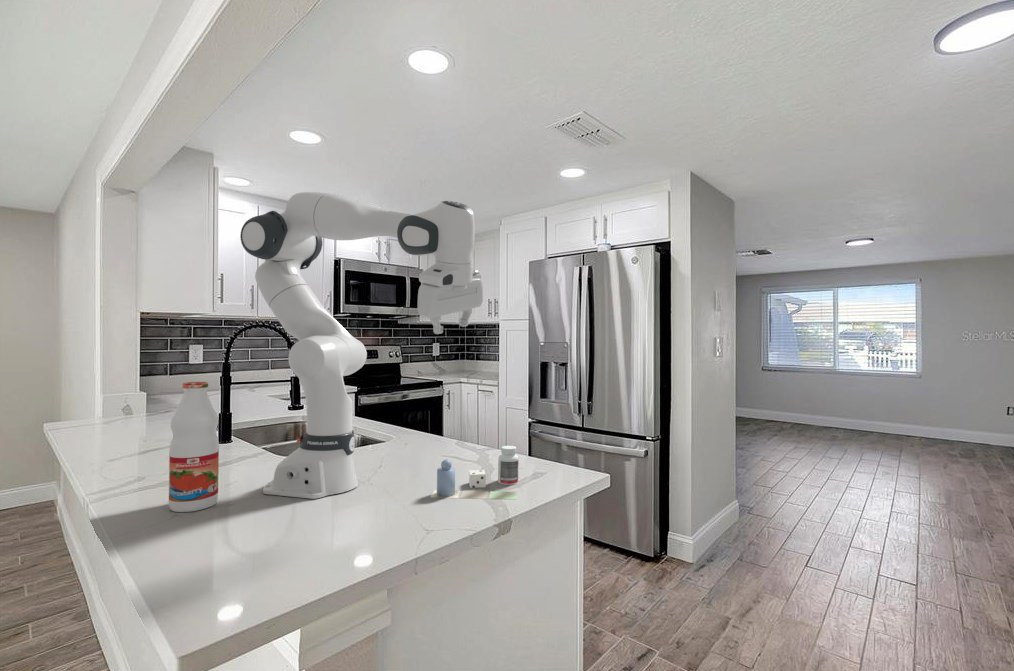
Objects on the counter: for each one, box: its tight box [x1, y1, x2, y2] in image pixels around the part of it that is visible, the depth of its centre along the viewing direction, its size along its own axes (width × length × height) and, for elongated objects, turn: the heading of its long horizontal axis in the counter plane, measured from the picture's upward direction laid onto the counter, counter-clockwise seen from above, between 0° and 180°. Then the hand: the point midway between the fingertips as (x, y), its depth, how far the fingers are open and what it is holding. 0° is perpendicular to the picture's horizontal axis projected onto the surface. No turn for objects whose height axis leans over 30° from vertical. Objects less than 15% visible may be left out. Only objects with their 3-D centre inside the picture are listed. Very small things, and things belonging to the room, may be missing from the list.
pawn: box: [436, 459, 456, 497], centre depth 116 cm, size 4×4×8 cm
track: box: [430, 489, 518, 500], centre depth 116 cm, size 22×6×1 cm, turn 88°
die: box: [468, 469, 487, 489], centre depth 123 cm, size 4×4×4 cm
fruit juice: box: [168, 381, 220, 513], centre depth 108 cm, size 9×9×28 cm
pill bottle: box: [497, 445, 520, 486], centre depth 126 cm, size 5×5×10 cm
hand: (451, 329), depth 115 cm, fingers open, 8 cm apart
